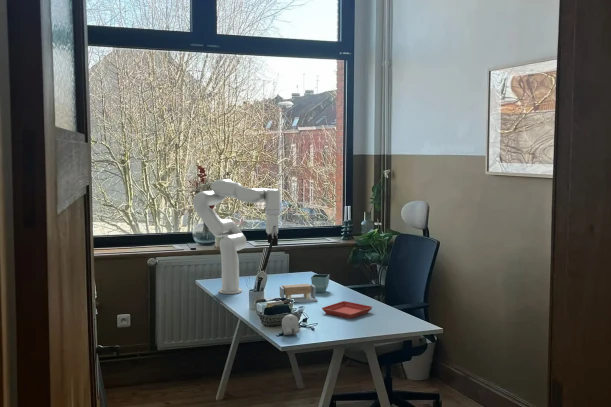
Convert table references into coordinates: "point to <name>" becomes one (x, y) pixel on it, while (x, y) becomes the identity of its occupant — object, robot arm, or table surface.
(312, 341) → the table surface
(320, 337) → the table surface
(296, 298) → the peg stand
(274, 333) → the table surface
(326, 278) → the flower pot
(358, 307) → the plant saucer
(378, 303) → the table surface
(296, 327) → the round bodied animal figurine
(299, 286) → the plank
